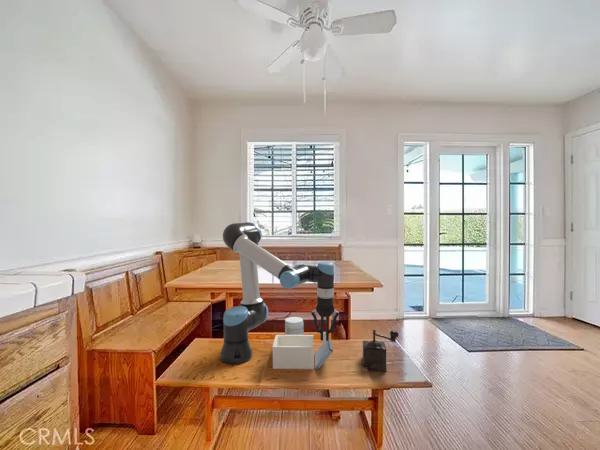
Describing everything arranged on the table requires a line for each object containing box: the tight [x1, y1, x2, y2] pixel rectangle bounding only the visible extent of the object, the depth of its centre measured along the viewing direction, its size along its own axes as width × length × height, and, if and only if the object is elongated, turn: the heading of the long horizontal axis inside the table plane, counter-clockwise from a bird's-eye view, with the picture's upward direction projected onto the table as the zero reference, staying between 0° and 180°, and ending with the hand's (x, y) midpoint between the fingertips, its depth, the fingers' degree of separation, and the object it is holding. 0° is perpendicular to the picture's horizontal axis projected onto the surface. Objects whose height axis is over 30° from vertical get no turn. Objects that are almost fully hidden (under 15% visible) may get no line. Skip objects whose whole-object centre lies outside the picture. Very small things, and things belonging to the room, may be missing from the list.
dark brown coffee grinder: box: [361, 329, 399, 372], centre depth 151 cm, size 16×11×18 cm
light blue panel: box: [314, 337, 334, 370], centre depth 153 cm, size 2×14×11 cm
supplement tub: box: [284, 316, 305, 335], centre depth 171 cm, size 10×10×15 cm
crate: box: [272, 334, 315, 370], centre depth 154 cm, size 18×14×11 cm
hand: (324, 347), depth 153 cm, fingers closed
